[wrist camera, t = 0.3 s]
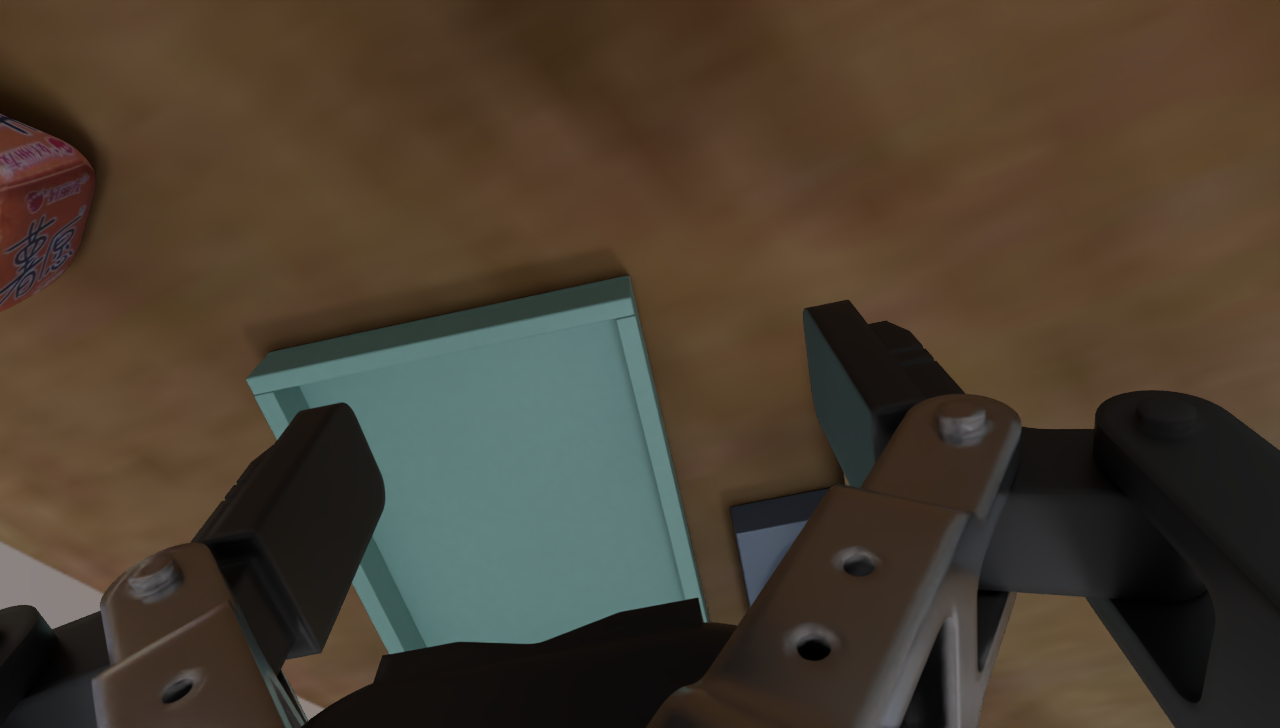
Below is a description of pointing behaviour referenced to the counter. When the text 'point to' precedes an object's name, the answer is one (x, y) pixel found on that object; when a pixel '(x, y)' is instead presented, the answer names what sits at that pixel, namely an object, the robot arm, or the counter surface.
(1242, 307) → the counter surface
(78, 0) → the counter surface
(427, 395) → the key tray
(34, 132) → the snack package
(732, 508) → the key stand
